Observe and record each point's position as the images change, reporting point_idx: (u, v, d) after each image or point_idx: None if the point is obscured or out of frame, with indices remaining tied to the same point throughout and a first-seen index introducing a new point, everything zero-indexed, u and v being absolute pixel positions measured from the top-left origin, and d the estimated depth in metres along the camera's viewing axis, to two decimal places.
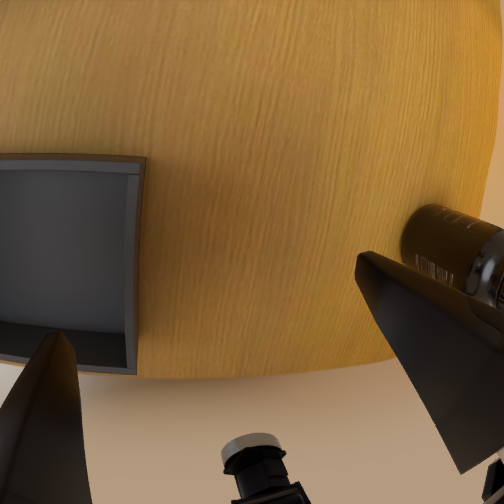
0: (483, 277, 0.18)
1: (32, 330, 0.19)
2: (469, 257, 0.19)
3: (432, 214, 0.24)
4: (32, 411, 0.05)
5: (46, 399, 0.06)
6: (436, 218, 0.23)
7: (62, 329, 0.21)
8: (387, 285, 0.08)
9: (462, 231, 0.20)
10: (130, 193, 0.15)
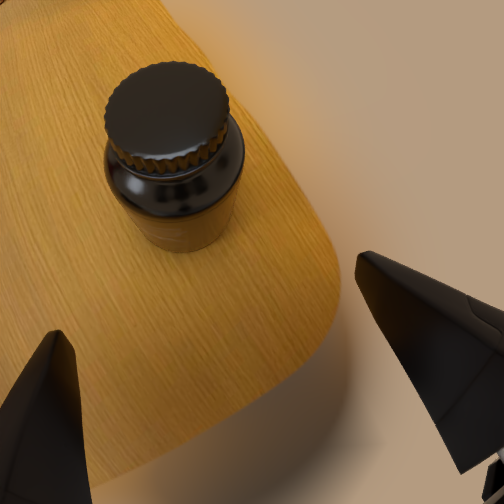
0: (117, 173, 0.13)
1: None
2: None
3: None
4: (32, 411, 0.05)
5: (46, 399, 0.06)
6: None
7: None
8: (387, 285, 0.08)
9: None
10: None
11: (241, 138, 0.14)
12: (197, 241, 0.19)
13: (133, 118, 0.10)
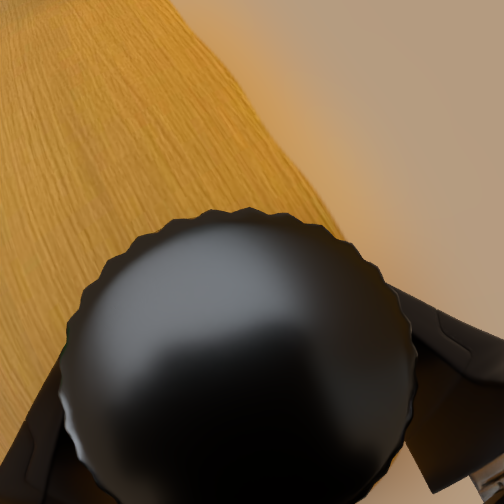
0: None
1: None
2: None
3: None
4: None
5: None
6: None
7: None
8: None
9: None
10: None
11: None
12: None
13: (156, 453, 0.03)
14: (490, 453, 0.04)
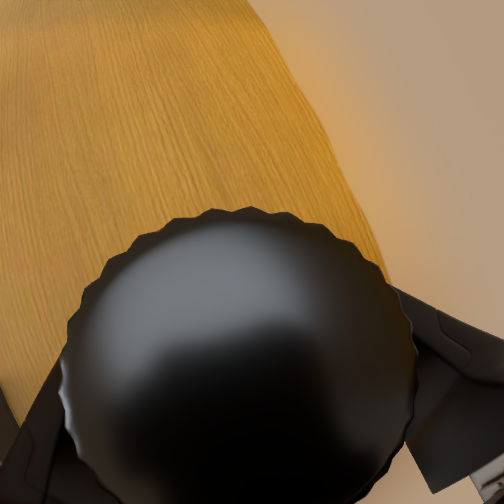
0: None
1: None
2: None
3: None
4: None
5: None
6: None
7: None
8: None
9: None
10: None
11: None
12: None
13: (157, 452, 0.03)
14: (490, 453, 0.04)
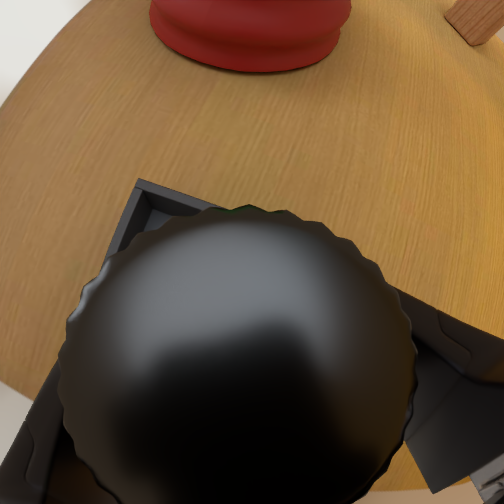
0: None
1: None
2: None
3: None
4: None
5: None
6: None
7: None
8: None
9: None
10: None
11: None
12: None
13: (156, 450, 0.03)
14: (490, 453, 0.04)
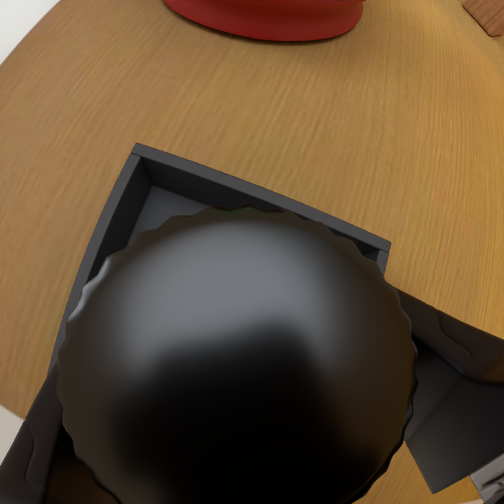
0: None
1: None
2: None
3: None
4: None
5: None
6: None
7: None
8: None
9: None
10: None
11: None
12: None
13: (155, 450, 0.03)
14: (490, 453, 0.04)
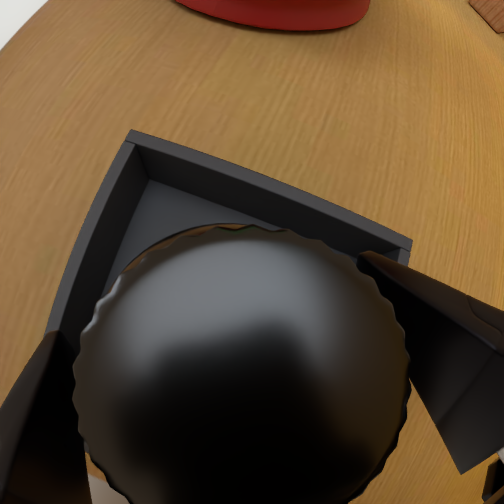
0: None
1: None
2: None
3: None
4: (32, 411, 0.05)
5: (46, 399, 0.06)
6: None
7: None
8: (387, 285, 0.08)
9: None
10: None
11: None
12: None
13: (166, 453, 0.03)
14: None
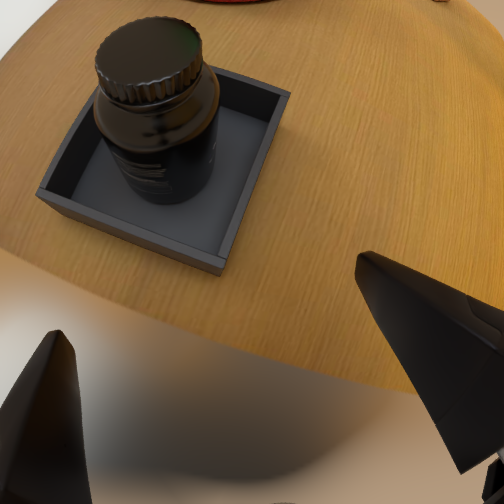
0: (104, 111, 0.13)
1: None
2: None
3: None
4: (32, 411, 0.05)
5: (46, 399, 0.06)
6: None
7: None
8: (387, 285, 0.08)
9: None
10: (279, 105, 0.20)
11: (217, 83, 0.15)
12: (178, 187, 0.19)
13: (119, 57, 0.11)
14: None
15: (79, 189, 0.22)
